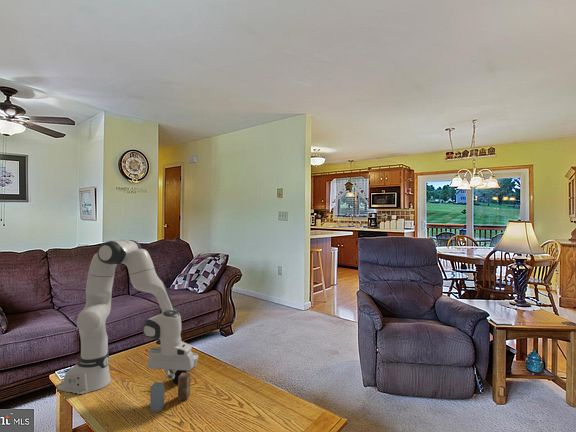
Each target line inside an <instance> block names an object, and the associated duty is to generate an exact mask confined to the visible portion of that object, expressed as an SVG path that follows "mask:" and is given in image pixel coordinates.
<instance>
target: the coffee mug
mask: <svg viewBox="0 0 576 432" xmlns="http://www.w3.org/2000/svg"><path fill="white" fill-rule="evenodd" d="M170 371H171V372H170V373H173V372H172V370H170ZM181 373H188V370H177V371H176V373H175V378H174V379H171V380H172V384H174V385H178V377H179V376H180V374H181Z"/></svg>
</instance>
